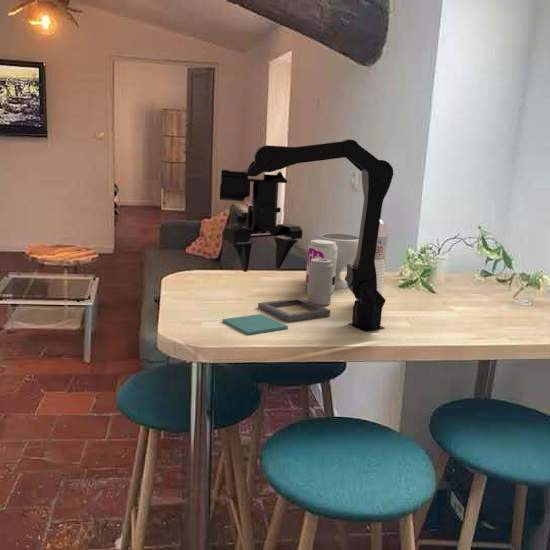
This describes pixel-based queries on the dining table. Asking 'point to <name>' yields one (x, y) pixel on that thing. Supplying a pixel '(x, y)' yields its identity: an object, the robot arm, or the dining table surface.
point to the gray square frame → (314, 313)
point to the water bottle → (381, 255)
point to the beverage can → (320, 281)
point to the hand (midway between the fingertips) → (261, 269)
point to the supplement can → (322, 255)
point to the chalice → (343, 253)
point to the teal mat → (255, 324)
